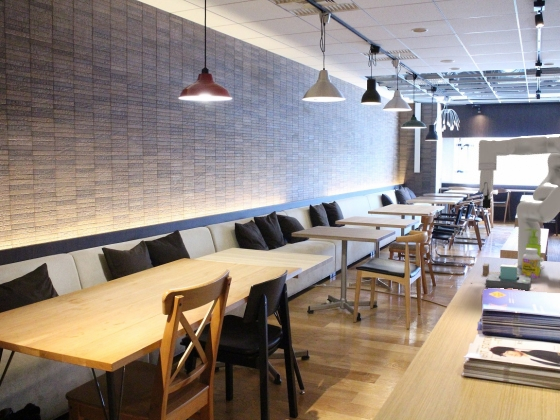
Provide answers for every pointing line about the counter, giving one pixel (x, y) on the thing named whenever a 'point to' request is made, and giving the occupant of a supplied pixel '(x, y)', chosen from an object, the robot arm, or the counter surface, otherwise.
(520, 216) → the robot arm
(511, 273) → the plug
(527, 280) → the port
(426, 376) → the counter surface
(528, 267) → the supplement bottle
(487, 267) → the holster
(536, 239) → the soap dispenser
